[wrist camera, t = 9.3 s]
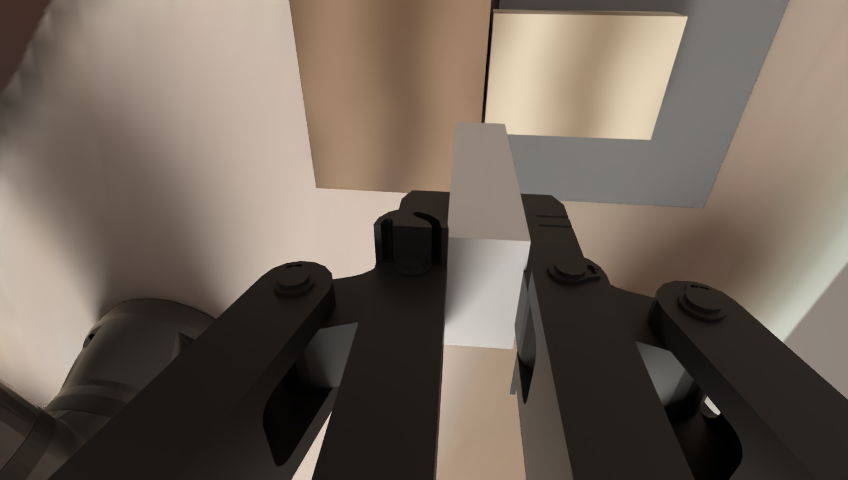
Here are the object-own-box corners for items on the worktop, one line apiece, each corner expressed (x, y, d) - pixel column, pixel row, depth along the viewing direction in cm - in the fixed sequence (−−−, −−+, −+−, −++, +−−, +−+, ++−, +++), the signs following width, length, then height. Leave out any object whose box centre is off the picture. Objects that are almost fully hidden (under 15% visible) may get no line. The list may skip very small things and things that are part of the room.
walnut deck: (327, 171, 30) (316, 187, 27) (295, -86, 22) (276, -90, 20) (475, 178, 29) (475, 196, 27) (496, -86, 21) (498, -90, 19)
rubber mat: (481, 192, 29) (481, 196, 29) (509, -113, 20) (510, -114, 20) (699, 204, 28) (702, 208, 28) (829, -114, 19) (836, -115, 19)
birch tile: (483, 121, 26) (484, 133, 24) (492, 9, 23) (494, 13, 21) (639, 127, 25) (650, 139, 24) (672, 11, 22) (687, 16, 20)
